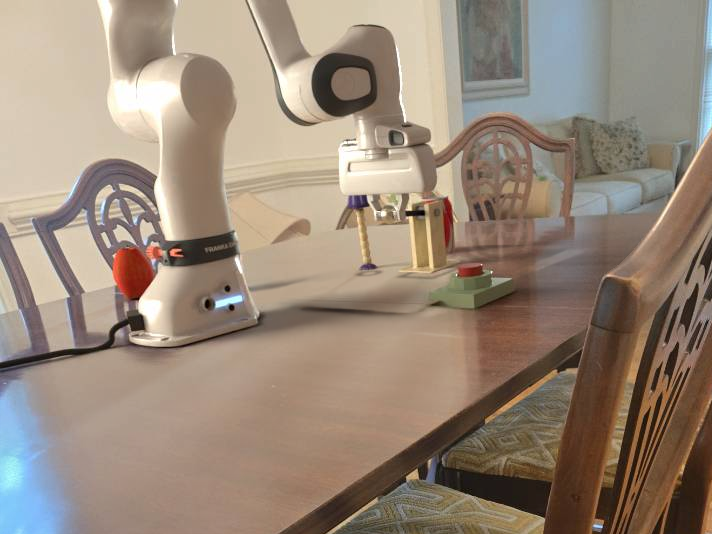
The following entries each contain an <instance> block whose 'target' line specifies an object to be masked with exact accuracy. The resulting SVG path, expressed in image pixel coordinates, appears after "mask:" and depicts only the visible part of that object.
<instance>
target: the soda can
mask: <svg viewBox="0 0 712 534" xmlns="http://www.w3.org/2000/svg"><path fill="white" fill-rule="evenodd" d="M420 201H425V203H426V204H427V203H431V202H435V201H442V208H443V221H444V235H445V248H446V255H449V254H453V253H454V252H455V250H456V249H455V248H456V247H455V246H456V242H455V241H456V240H455V228H454V227H455V225H454V213H453V204H452V203H451V200H450V199H449V195H446V194H444V195H443V194H441V195H432V196H425V197H422V198H420Z"/></svg>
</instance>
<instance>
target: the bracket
mask: <svg viewBox="0 0 712 534" xmlns="http://www.w3.org/2000/svg"><path fill="white" fill-rule="evenodd" d="M417 206H425V217H426V220H417V216H409V217H408V222H409V223H408V224H409V233H410V234H409V235H410V243H411V245H410V246H411V254H412V255H411V256H412V265H411V266H409V267H406V268H402V269H399V270H398V272H399V273H400V272H401V273H423V274H424V273H426V274H432V273H435V272H438V271H441V270H443V269H446V268H449V267H452V266H454V265H457V264H460V263H462V261H461V260H447V254H446V248H445V235H444V221H443V208H442V201H435V202H431V203H427V204H426V203H425V201H422V200H420V201H417V202H412V203H408V204H407V211H411V210H417Z"/></svg>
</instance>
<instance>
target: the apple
mask: <svg viewBox="0 0 712 534" xmlns="http://www.w3.org/2000/svg"><path fill="white" fill-rule="evenodd" d="M128 246H129V245H126V247H125V248H120V249H118V250H117V251H116V253H115V256H114V259H113V262H112V263H113V264H112V276H113V280H114V282H115V284H116V286H117V288H118V290H119V291H120V292H121V293H122V295H123V296H124V297H125V298H126V299H129V300H134V299H140V298H141V296H142V295H143V294H144V292H145V291H146V290H147V288H148V287H149V286H150V284H151V283H152V281H153V280H154V278H155V277H156V275H155V270H154V267H153V266H152V263H151V261H150V260H149V258H147V255H145V253H144V252H142V250H141V249H139V248H138V247H136V246H131V247H128Z"/></svg>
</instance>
